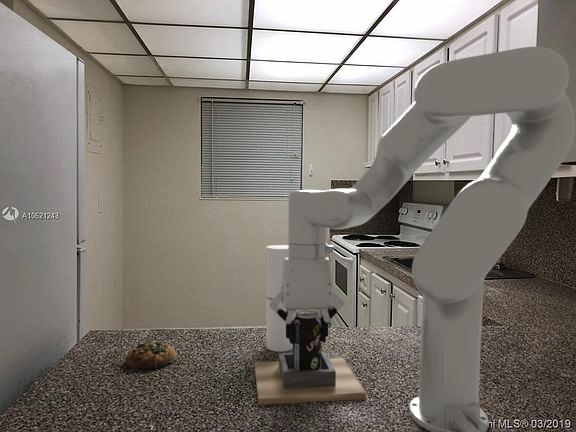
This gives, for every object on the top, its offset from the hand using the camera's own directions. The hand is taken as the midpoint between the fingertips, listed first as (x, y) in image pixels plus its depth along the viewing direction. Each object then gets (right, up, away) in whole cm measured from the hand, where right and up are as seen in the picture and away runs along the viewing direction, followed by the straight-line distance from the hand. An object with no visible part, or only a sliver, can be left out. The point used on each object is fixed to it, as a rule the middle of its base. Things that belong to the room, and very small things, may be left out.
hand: (306, 339), depth 83 cm
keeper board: (0, -9, +1) cm, 9 cm away
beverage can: (0, -7, 0) cm, 7 cm away
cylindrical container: (-6, -8, +20) cm, 22 cm away
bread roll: (-35, -8, +11) cm, 38 cm away
